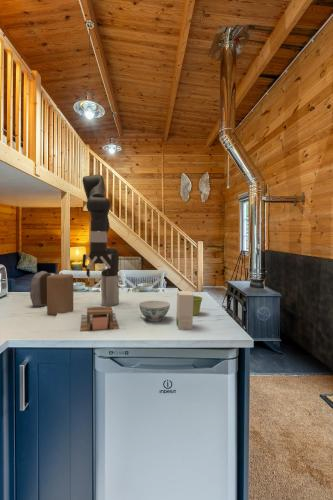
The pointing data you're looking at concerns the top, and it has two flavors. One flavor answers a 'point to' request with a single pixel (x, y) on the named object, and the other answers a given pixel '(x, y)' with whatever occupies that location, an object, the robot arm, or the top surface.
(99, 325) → the cord block
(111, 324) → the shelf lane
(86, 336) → the top surface
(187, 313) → the skincare box
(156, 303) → the chinaware
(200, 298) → the plant pot
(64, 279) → the block
